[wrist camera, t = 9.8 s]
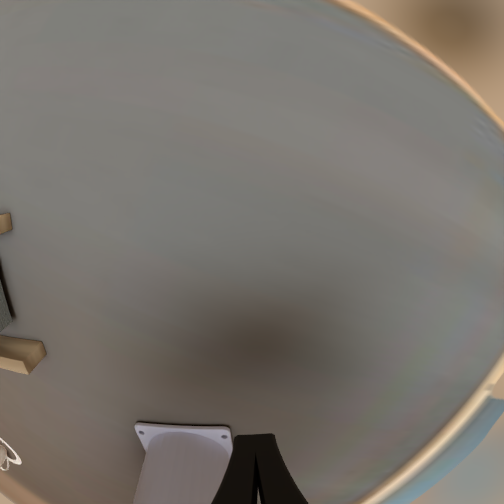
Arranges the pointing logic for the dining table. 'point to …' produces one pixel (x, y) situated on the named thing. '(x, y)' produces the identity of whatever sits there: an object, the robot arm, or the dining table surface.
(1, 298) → the grey stepped block
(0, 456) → the teacup and saucer
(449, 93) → the dining table surface
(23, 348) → the dock bay
